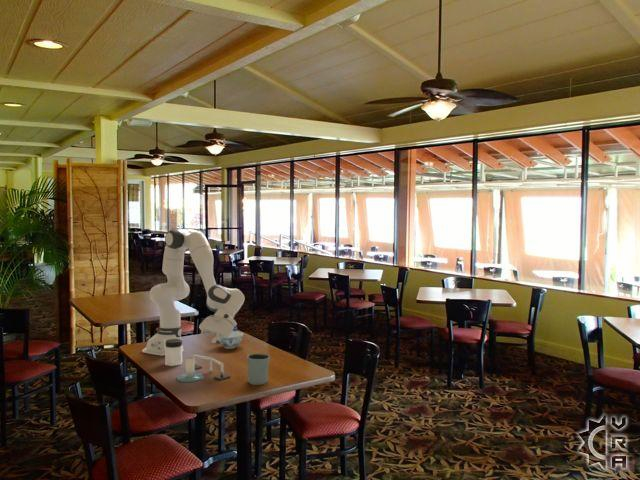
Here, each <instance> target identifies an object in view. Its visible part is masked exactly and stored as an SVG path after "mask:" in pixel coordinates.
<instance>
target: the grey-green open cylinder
mask: <svg viewBox="0 0 640 480" xmlns="http://www.w3.org/2000/svg"><path fill="white" fill-rule="evenodd" d="M246 359H247V372H248V375H247V378H248V379H247V381H248V384H250V385H253V386H255V385H256V386H258V385H259V386H261V385H264V384H266V383H267V382H268V375H269V374H268V373H269V365H270V364H269V363H270V355H269V354H266V353H258V352H257V353H250V354H248V355H247V356H246Z"/></svg>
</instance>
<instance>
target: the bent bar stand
mask: <svg viewBox="0 0 640 480" xmlns="http://www.w3.org/2000/svg"><path fill="white" fill-rule="evenodd" d="M192 357H195V358H196V359H197V358H198V359H201V360H202V359H203V360H207V361H208V360H209V373H212V372H213V363H215V364H217V365H219V366H220V374H218V375H214V376H213V379H215V380H217V381H220V382H221V381H223V380H227V379H231V375H230V374H228V373H227V374H225V373H224V362H221V361H220V360H217V359H215V358H214V357H210V356H204V355H199V354H192ZM202 368H203V366H202V365H199V364H195V371H196V370H200V369H202Z"/></svg>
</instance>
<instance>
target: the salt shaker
mask: <svg viewBox="0 0 640 480" xmlns="http://www.w3.org/2000/svg"><path fill="white" fill-rule="evenodd" d="M195 365H196V357H193V356H187V357H185V373H186V378H193V377H195V373H196V370H195Z"/></svg>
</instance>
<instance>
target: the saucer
mask: <svg viewBox="0 0 640 480" xmlns="http://www.w3.org/2000/svg"><path fill="white" fill-rule="evenodd" d="M203 379H204V374H203V373H200V372H195V377H193V378H186V372H185V373H182V374H179V375H178V376H177V377H176V380H177V382H182V383H194V382H199V381H201V380H203Z"/></svg>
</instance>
